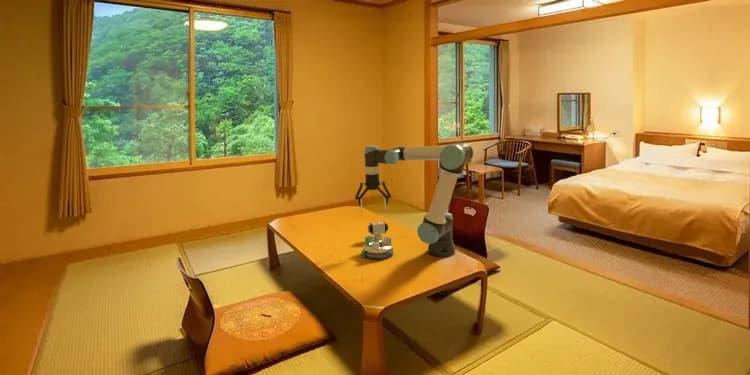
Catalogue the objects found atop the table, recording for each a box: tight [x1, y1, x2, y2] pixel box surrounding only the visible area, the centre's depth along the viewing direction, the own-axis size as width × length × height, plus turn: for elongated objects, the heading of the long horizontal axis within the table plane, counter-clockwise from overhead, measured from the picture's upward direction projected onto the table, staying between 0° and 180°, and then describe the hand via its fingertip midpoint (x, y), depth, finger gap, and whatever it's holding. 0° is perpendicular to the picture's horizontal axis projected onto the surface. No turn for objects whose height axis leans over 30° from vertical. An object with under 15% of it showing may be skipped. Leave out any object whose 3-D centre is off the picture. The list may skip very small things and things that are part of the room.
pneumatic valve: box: [367, 221, 389, 241], centre depth 258 cm, size 6×12×12 cm, turn 106°
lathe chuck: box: [362, 235, 393, 254], centre depth 234 cm, size 16×16×6 cm
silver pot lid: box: [360, 247, 394, 261], centre depth 234 cm, size 17×18×4 cm
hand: (373, 210), depth 239 cm, fingers open, 13 cm apart
